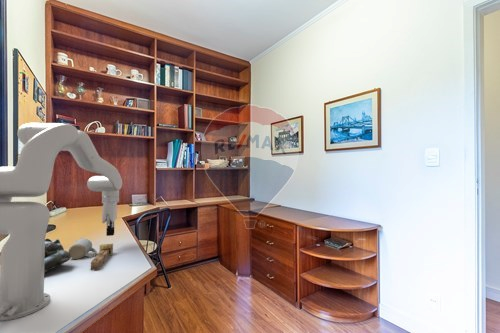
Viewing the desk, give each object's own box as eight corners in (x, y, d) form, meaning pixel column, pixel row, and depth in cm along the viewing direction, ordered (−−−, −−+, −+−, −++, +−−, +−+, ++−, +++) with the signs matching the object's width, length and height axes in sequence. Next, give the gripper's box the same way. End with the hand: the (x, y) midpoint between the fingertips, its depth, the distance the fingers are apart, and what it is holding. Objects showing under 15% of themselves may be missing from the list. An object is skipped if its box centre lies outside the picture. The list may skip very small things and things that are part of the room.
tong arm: (98, 269, 96) (98, 262, 96) (94, 270, 95) (94, 262, 96) (109, 255, 111) (109, 249, 111) (105, 256, 111) (105, 249, 111)
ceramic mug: (66, 260, 105) (67, 243, 106) (74, 254, 113) (74, 238, 113) (93, 258, 109) (94, 242, 109) (99, 252, 116) (99, 237, 117)
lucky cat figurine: (24, 282, 85) (10, 247, 86) (27, 284, 93) (14, 252, 95) (73, 259, 95) (60, 229, 97) (72, 262, 104) (59, 234, 105)
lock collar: (111, 255, 112) (111, 245, 112) (99, 256, 111) (99, 246, 111) (112, 253, 114) (113, 243, 115) (100, 254, 113) (100, 244, 113)
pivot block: (110, 255, 113) (110, 248, 113) (102, 255, 112) (102, 249, 112) (111, 253, 115) (111, 246, 115) (104, 253, 114) (104, 247, 114)
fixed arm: (95, 269, 96) (95, 261, 96) (90, 270, 96) (90, 262, 96) (106, 254, 113) (106, 247, 113) (102, 254, 113) (102, 248, 113)
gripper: (106, 197, 125) (105, 231, 125) (97, 202, 111) (97, 240, 111) (121, 197, 127) (121, 230, 128) (115, 201, 113) (115, 238, 113)
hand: (110, 235), depth 119 cm, fingers closed
